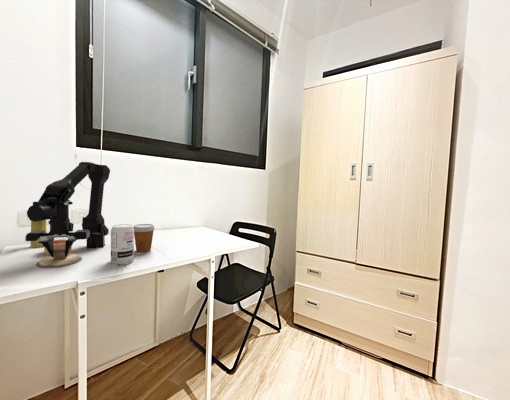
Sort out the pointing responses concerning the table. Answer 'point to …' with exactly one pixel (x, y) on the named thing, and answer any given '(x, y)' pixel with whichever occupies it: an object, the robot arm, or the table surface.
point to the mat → (58, 266)
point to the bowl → (57, 245)
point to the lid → (59, 258)
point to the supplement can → (122, 244)
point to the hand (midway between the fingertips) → (59, 256)
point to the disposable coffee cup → (143, 237)
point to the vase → (38, 227)
